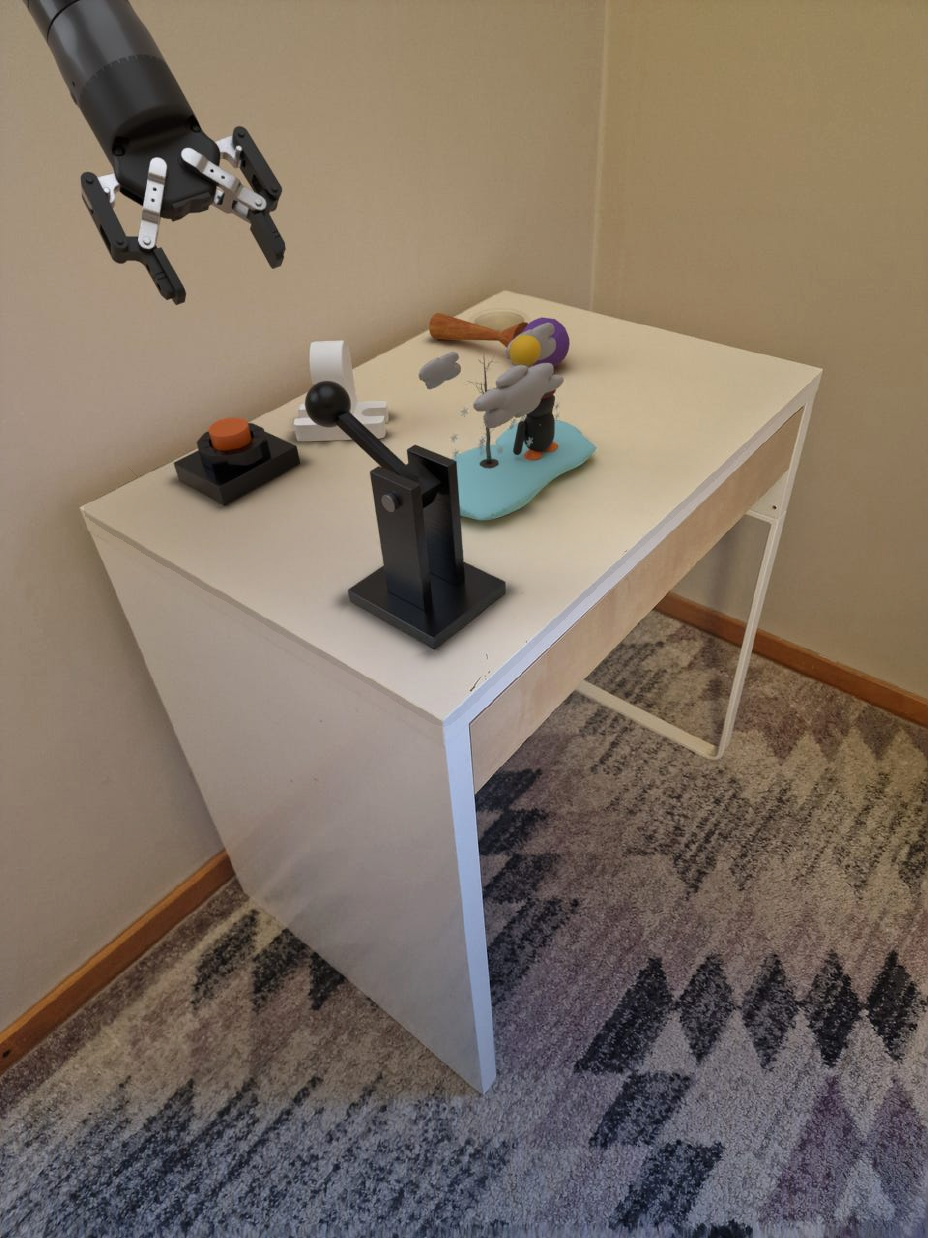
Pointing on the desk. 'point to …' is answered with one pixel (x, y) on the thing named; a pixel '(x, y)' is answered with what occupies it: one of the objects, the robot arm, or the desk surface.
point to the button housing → (236, 465)
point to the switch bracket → (423, 557)
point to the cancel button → (230, 433)
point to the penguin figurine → (514, 430)
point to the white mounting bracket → (336, 366)
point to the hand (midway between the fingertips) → (231, 280)
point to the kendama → (498, 334)
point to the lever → (364, 435)
